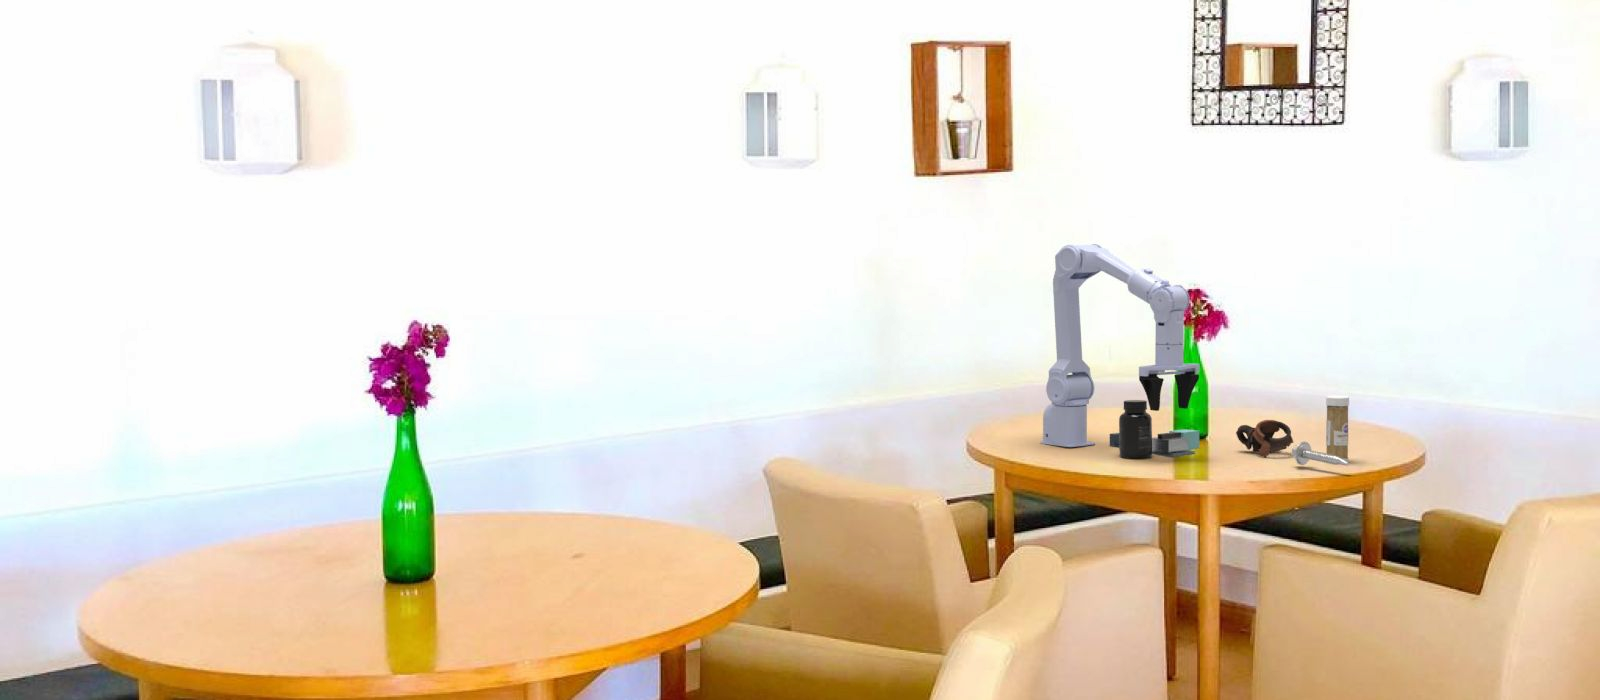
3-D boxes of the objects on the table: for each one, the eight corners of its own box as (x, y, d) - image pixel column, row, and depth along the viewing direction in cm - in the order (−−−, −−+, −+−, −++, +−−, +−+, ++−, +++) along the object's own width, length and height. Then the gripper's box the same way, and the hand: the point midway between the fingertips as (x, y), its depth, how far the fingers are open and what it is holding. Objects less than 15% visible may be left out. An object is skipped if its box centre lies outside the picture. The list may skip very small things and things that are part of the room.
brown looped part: (1292, 453, 395) (1299, 422, 391) (1282, 478, 389) (1289, 447, 384) (1237, 437, 400) (1243, 407, 395) (1226, 462, 393) (1232, 431, 388)
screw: (1287, 464, 376) (1288, 441, 375) (1302, 462, 379) (1303, 439, 378) (1340, 475, 366) (1342, 451, 365) (1355, 473, 368) (1357, 449, 368)
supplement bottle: (1150, 455, 393) (1150, 399, 392) (1153, 459, 386) (1153, 402, 386) (1117, 455, 394) (1118, 399, 393) (1120, 459, 387) (1120, 402, 386)
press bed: (1109, 449, 403) (1109, 433, 403) (1131, 447, 407) (1131, 431, 407) (1172, 457, 389) (1172, 441, 388) (1194, 455, 393) (1194, 438, 392)
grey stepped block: (1150, 450, 394) (1150, 433, 394) (1169, 447, 398) (1170, 431, 397) (1168, 452, 390) (1168, 435, 390) (1187, 449, 394) (1187, 433, 393)
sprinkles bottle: (1344, 462, 379) (1345, 397, 378) (1322, 461, 381) (1323, 396, 380) (1351, 460, 382) (1352, 395, 381) (1329, 458, 385) (1330, 394, 384)
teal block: (1169, 451, 400) (1169, 431, 399) (1184, 449, 403) (1185, 429, 402) (1183, 453, 397) (1183, 432, 396) (1199, 451, 400) (1199, 430, 399)
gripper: (1154, 346, 376) (1154, 413, 377) (1209, 343, 383) (1208, 409, 384) (1132, 344, 382) (1132, 409, 383) (1186, 341, 389) (1186, 406, 390)
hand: (1168, 409), depth 384 cm, fingers open, 7 cm apart
